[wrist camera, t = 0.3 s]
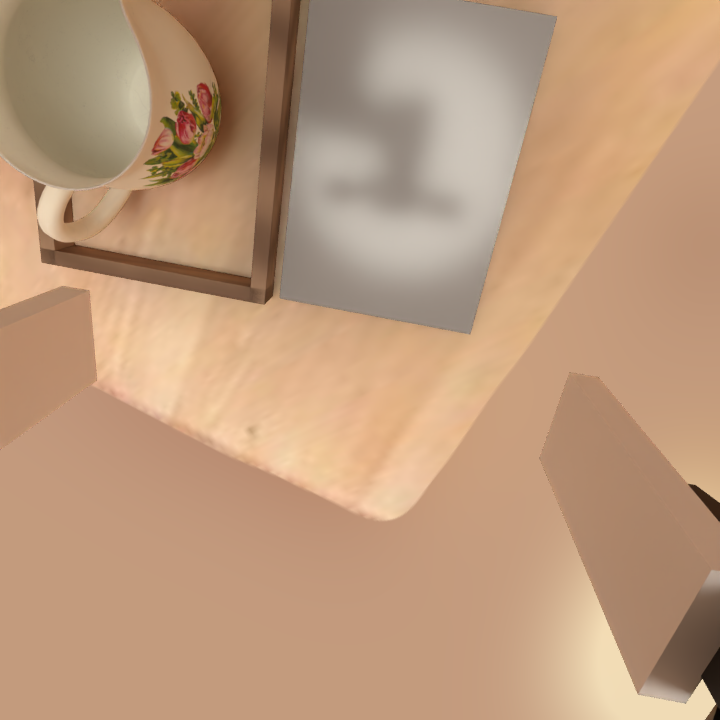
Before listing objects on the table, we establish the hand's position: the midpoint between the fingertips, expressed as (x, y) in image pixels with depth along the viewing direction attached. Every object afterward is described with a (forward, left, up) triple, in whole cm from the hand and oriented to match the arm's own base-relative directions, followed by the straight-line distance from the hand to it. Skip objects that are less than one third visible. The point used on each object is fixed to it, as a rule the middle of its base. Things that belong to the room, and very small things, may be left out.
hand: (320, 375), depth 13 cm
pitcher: (-5, -17, -27) cm, 33 cm away
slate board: (-4, +1, -27) cm, 27 cm away
